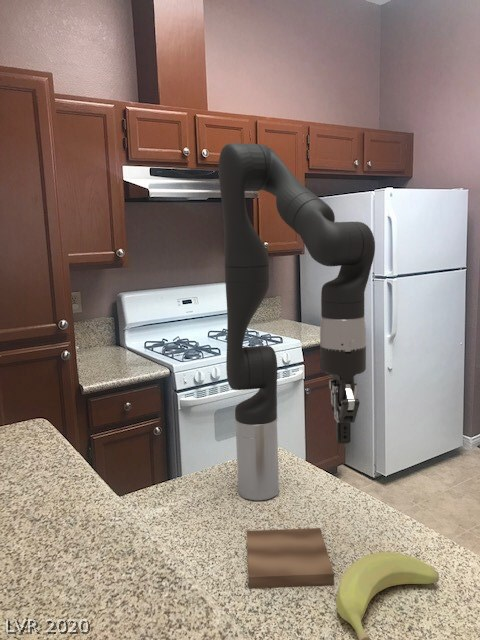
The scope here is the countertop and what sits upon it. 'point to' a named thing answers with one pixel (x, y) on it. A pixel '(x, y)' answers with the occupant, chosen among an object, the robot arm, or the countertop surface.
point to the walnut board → (288, 558)
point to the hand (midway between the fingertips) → (343, 441)
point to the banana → (377, 582)
